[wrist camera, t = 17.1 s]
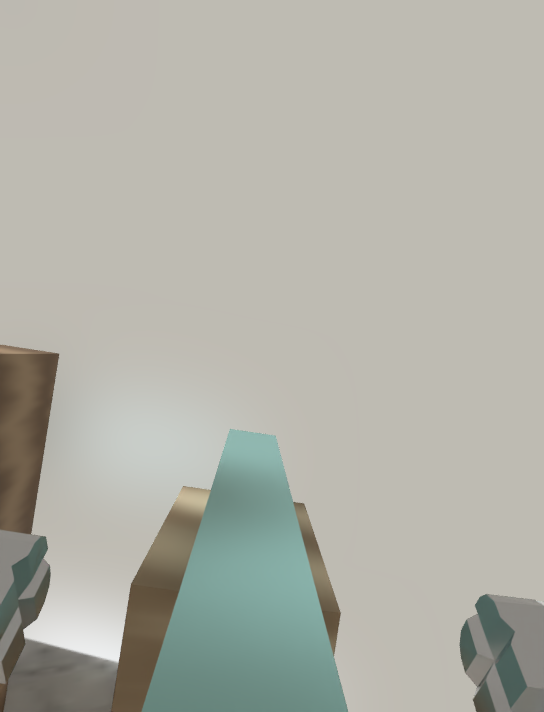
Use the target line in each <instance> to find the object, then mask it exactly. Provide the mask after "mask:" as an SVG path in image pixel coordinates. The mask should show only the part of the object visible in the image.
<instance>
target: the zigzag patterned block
mask: <svg viewBox="0 0 544 712" xmlns="http://www.w3.org/2000/svg"><path fill="white" fill-rule="evenodd" d="M210 491H211V490H206V489H200V488H193V487H186V486H183V488H182V489H181V491H180V493H179V495H178V497H177V499H176V501H175V503H174V505H173V506H172V508H171V510H170V512H169V514H168V516H167V518H166V520H165V522H164V523H163V525H162V527H161V529H160V531H159V533H158V535H157V537H156V539H155V540H154V542H153V544H152V546H151V548H150V550H149V552H148V554H147V555H146V557H145V559H144V561H143V563H142V565H141V567H140V568H139V570H138V572H137V575H136V576H135V578H134V580H133V582H132V583H131V588H130V594H129V601H128V607H127V614H126V620H125V627H124V633H123V639H122V646H121V652H120V659H119V665H118V671H117V678H116V684H115V691H114V697H113V703H112V710H111V712H141V711H142V708H143V705H144V702H145V699H146V695H147V692H148V689H149V686H150V683H151V680H152V676H153V673H154V670H155V667H156V664H157V660H158V657H159V654H160V651H161V648H162V644H163V641H164V638H165V635H166V632H167V628H168V625H169V622H170V619H171V616H172V613H173V609H174V606H175V603H176V600H177V597H178V593H179V590H180V587H181V584H182V581H183V577H184V574H185V571H186V568H187V565H188V562H189V558H190V555H191V552H192V549H193V546H194V542H195V539H196V536H197V533H198V530H199V526H200V523H201V520H202V517H203V514H204V511H205V507H206V504H207V501H208V498H209V495H210ZM293 504H294V508H295V512H296V515H297V519H298V523H299V527H300V531H301V534H302V538H303V542H304V546H305V550H306V553H307V557H308V561H309V565H310V569H311V572H312V576H313V580H314V584H315V588H316V591H317V595H318V599H319V603H320V607H321V610H322V614H323V618H324V622H325V626H326V629H327V633H328V637H329V641H330V645H331V648H332V652H333V656H334V652H335V646H336V640H337V633H338V626H339V620H340V614H341V613H340V610H339V607H338V604H337V601H336V598H335V595H334V592H333V589H332V586H331V583H330V580H329V577H328V574H327V571H326V568H325V565H324V562H323V559H322V556H321V553H320V550H319V547H318V544H317V541H316V538H315V535H314V532H313V529H312V526H311V523H310V520H309V517H308V514H307V511H306V508H305V505H304V504H303V503H296V502H293Z"/></svg>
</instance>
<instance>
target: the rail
mask: <svg viewBox="0 0 544 712" xmlns="http://www.w3.org/2000/svg"><path fill="white" fill-rule="evenodd" d="M141 712H348V709H347V705H346V702H345V698H344V694H343V690H342V687H341V683H340V679H339V675H338V671H337V667H336V664H335V660H334V656H333V652H332V648H331V645H330V641H329V637H328V633H327V629H326V626H325V622H324V618H323V614H322V610H321V607H320V603H319V599H318V595H317V591H316V588H315V584H314V580H313V576H312V572H311V569H310V565H309V561H308V557H307V553H306V550H305V546H304V542H303V538H302V534H301V531H300V527H299V523H298V519H297V515H296V512H295V508H294V504H293V500H292V496H291V493H290V489H289V485H288V481H287V477H286V474H285V470H284V466H283V462H282V458H281V455H280V451H279V447H278V443H277V439H276V436H273V435H266V434H260V433H253V432H247V431H239V430H233V429H230V431H229V434H228V438H227V441H226V444H225V447H224V450H223V453H222V456H221V459H220V463H219V466H218V469H217V472H216V476H215V479H214V482H213V485H212V488H211V491H210V495H209V498H208V501H207V504H206V507H205V511H204V514H203V517H202V520H201V523H200V526H199V530H198V533H197V536H196V539H195V542H194V546H193V549H192V552H191V555H190V558H189V562H188V565H187V568H186V571H185V574H184V577H183V581H182V584H181V587H180V590H179V593H178V597H177V600H176V603H175V606H174V609H173V613H172V616H171V619H170V622H169V625H168V628H167V632H166V635H165V638H164V641H163V644H162V648H161V651H160V654H159V657H158V660H157V664H156V667H155V670H154V673H153V676H152V680H151V683H150V686H149V689H148V692H147V695H146V699H145V702H144V705H143V708H142V711H141Z"/></svg>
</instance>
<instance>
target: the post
mask: <svg viewBox="0 0 544 712" xmlns="http://www.w3.org/2000/svg"><path fill="white" fill-rule="evenodd" d="M58 358H59V354H57V353H51V352H45V351H38V350H32V349H25V348H19V347H12V346H6V345H0V530H6V531H12V532H19V533H25V534H31V531H32V525H33V518H34V512H35V505H36V499H37V493H38V487H39V486H38V485H39V480H40V473H41V467H42V461H43V454H44V448H45V442H46V435H47V429H48V422H49V416H50V410H51V403H52V396H53V390H54V384H55V377H56V371H57V365H58ZM7 685H8V681H7V683H6V684H2V683H0V712H3V711H4V705H5V698H6V692H7Z"/></svg>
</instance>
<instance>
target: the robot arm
mask: <svg viewBox="0 0 544 712" xmlns="http://www.w3.org/2000/svg"><path fill="white" fill-rule="evenodd" d="M47 549H48V546H47V541H46V537H45V536H38V535H32V534H25V533H19V532H12V531H6V530H0V683H2V684H6V683H7V681H8V679H9V677H10V675H11V673H12V671H13V668H14V666H15V664H16V662H17V660H18V658H19V656H20V654H21V652H22V650H23V647H24V645H25V640H24V634H23V629H24V628H26V627H27V626H28V625H30V624H31V623H32V622H33V621H35V620H36V619H37V618H38V616H39V613H40V611H41V609H42V607H43V604H44V602H45V598H46V595H47V592H48V588H49V583H50V565H49V564H48V563H47V562H46V561H45V560H44V559H43V558H44V556H45V554H46V552H47ZM475 607H476V609H477V612H478V614H476V615H474V616H472V617H470V618H468V619H467V620H466V622H465V624H464V626H463V628H462V630H461V637H460V652H461V659H462V662H463V666H464V670H465V673H466V674H467V675H468V676H469V678H470V679H471V680H472V681H473V682H474V684H475V685H476V686H477V690H476V692H475V695H474V698H473V701H474V705H475V708H476V711H477V712H544V602H541V601H536V600H532V599H523V598H515V597H507V596H498V595H489V594H486V595H483V596H481V597H480V598H479V600H478V601H477V603H476V604H475Z"/></svg>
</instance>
